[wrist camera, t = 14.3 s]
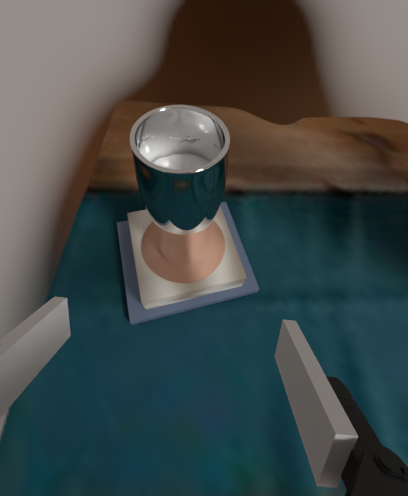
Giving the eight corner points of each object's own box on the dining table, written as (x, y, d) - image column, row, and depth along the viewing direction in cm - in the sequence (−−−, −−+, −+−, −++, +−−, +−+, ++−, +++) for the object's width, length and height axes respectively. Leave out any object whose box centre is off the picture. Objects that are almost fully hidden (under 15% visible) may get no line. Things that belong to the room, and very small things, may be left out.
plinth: (214, 209, 36) (217, 195, 33) (241, 285, 30) (247, 276, 28) (132, 225, 34) (126, 212, 31) (146, 310, 28) (141, 303, 26)
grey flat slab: (224, 206, 37) (225, 201, 36) (257, 292, 31) (259, 289, 30) (118, 227, 35) (116, 222, 34) (132, 324, 29) (129, 323, 28)
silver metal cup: (150, 226, 30) (118, 109, 17) (204, 214, 31) (214, 96, 18) (162, 277, 27) (136, 185, 14) (221, 262, 28) (249, 164, 15)
